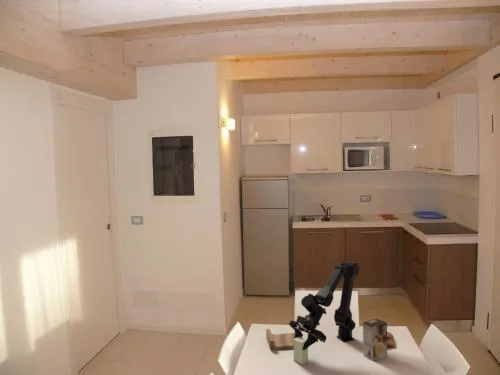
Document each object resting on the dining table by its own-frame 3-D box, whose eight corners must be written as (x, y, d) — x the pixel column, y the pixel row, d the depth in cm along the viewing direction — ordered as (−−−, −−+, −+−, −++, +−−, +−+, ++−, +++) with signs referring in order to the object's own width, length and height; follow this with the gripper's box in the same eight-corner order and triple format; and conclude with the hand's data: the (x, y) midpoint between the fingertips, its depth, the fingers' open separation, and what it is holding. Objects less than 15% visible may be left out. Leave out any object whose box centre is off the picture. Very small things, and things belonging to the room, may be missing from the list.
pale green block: (299, 357, 180) (299, 336, 179) (308, 361, 176) (307, 340, 176) (293, 360, 177) (293, 339, 177) (302, 364, 173) (301, 342, 173)
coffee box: (377, 351, 185) (377, 317, 184) (387, 356, 179) (387, 322, 178) (362, 355, 181) (362, 321, 180) (372, 361, 175) (372, 326, 174)
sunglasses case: (397, 349, 186) (390, 336, 187) (384, 355, 188) (377, 343, 188) (391, 333, 204) (384, 322, 204) (379, 339, 205) (372, 328, 206)
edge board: (296, 335, 203) (296, 327, 203) (302, 347, 189) (302, 338, 189) (266, 337, 202) (266, 329, 202) (270, 350, 188) (270, 341, 188)
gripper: (291, 303, 185) (274, 332, 178) (322, 314, 171) (305, 346, 164) (302, 315, 191) (287, 344, 184) (333, 326, 176) (317, 358, 170)
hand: (298, 347), depth 175 cm, fingers closed on pale green block, 5 cm apart
